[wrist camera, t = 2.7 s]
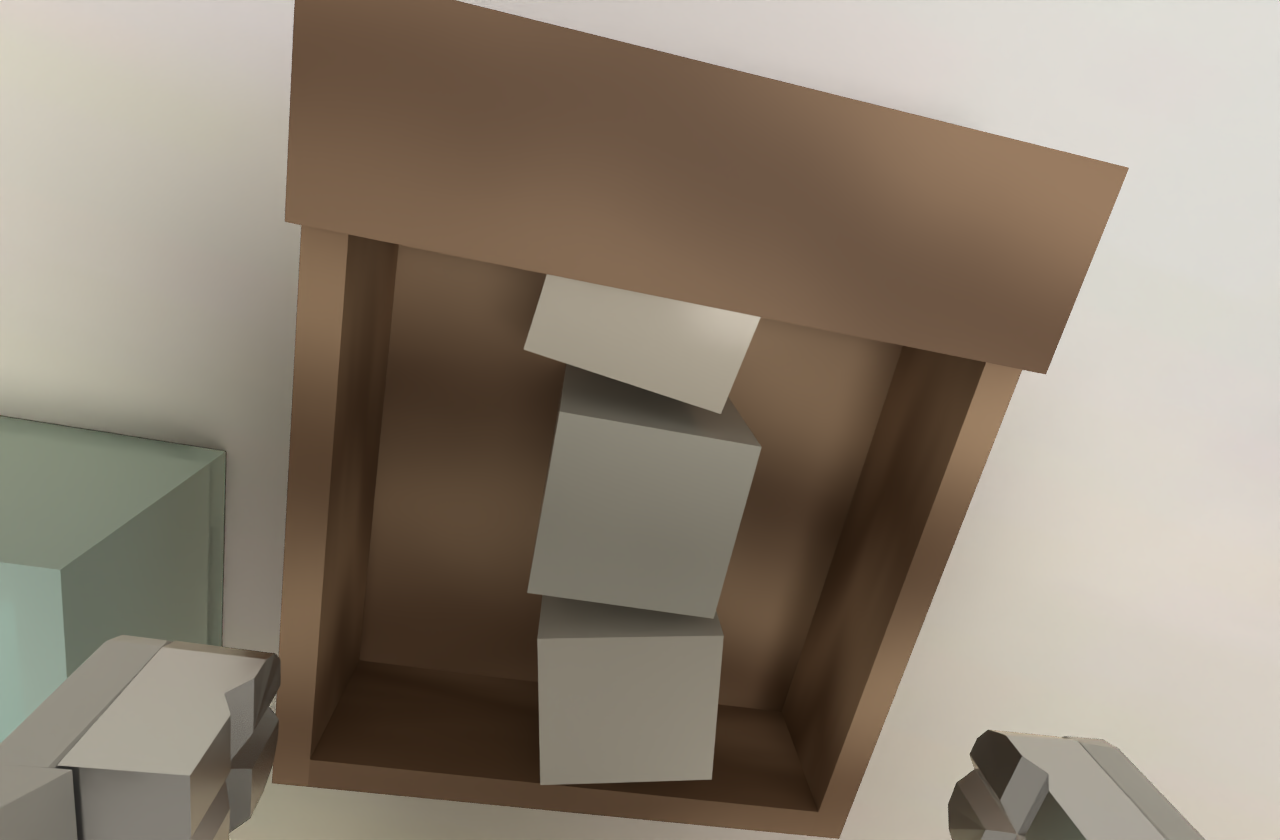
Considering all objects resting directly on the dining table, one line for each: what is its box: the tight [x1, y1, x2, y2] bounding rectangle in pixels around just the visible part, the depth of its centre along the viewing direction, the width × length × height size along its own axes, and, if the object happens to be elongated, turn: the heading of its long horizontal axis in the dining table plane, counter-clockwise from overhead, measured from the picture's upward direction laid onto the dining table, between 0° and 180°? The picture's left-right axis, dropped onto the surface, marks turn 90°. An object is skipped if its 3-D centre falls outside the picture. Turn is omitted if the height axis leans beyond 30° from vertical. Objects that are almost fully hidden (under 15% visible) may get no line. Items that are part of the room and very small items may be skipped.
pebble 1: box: [524, 274, 761, 414], centre depth 14 cm, size 4×4×4 cm
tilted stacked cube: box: [527, 363, 761, 619], centre depth 16 cm, size 4×4×4 cm
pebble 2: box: [537, 595, 724, 785], centre depth 17 cm, size 4×4×4 cm
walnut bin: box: [272, 0, 1129, 839], centre depth 16 cm, size 17×14×5 cm
